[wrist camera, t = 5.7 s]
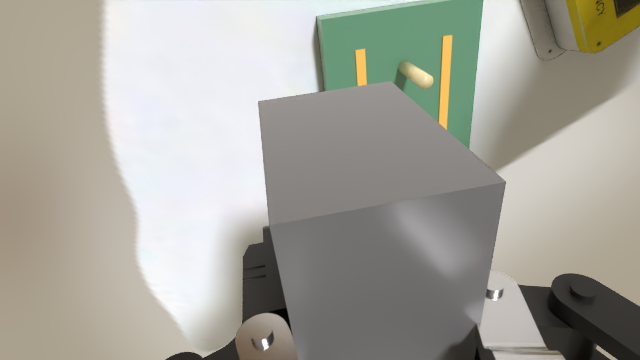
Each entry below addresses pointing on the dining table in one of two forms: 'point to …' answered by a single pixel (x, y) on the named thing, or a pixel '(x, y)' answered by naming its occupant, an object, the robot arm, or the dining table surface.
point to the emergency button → (578, 24)
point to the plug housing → (377, 225)
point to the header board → (409, 54)
